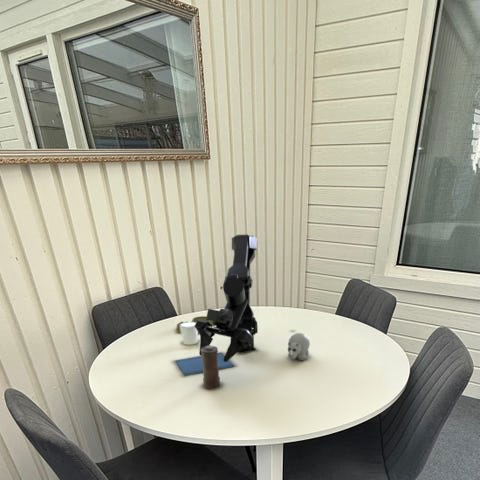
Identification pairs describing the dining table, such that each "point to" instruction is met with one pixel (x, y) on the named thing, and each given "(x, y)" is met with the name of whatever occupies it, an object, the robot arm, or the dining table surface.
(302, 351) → the grey bear figurine
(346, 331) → the dining table surface
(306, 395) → the dining table surface
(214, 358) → the pepper mill
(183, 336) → the white cylinder
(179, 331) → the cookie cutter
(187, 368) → the napkin
